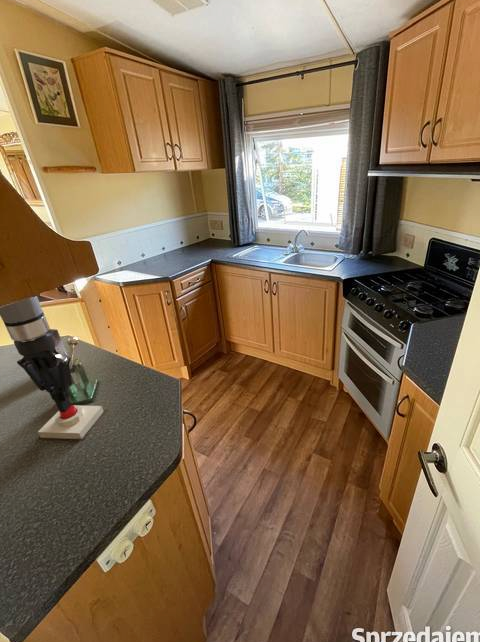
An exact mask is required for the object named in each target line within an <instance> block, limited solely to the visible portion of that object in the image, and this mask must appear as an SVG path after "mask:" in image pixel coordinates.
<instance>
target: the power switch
mask: <svg viewBox="0 0 480 642" xmlns="http://www.w3.org/2000/svg"><path fill="white" fill-rule="evenodd" d="M72 366H73V369H74V371H75V372H74V373H75V376H76V378H77V380H78V383H75V381H74V378H73V376H72V375H71V380H72V385H71V386H70V387H69V388H68V389H67V392H68V394H69V400H70V402H71V404H72V405H80V406H81V405H85V404H88V403H92V402H93V401H94V399H95V395H96V391H97V389H98V386H99V380H98V379H92V380H89V378H88V376H87V372H86V370H85V368H84V365H83V363H82V361H81V358H80V357H79V356H76V357H74V362H73V364H72Z"/></svg>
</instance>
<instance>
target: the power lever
mask: <svg viewBox="0 0 480 642" xmlns="http://www.w3.org/2000/svg"><path fill="white" fill-rule="evenodd" d="M79 340H80V339H79V338H78V337H77V336H69V338H67V340H66V343H67V345H68V346H69V351H68V356H69V357H70V358H71V360H70V363H69V366H70V373H71V374H73V373H75V371H74V369H73V366H72V364H73V362H74V360H75V351H76V346H78V345H79V343H80V341H79Z"/></svg>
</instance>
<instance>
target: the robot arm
mask: <svg viewBox="0 0 480 642" xmlns="http://www.w3.org/2000/svg"><path fill="white" fill-rule="evenodd" d="M42 308H43V307H42V306H41V303H40V300H39V298H38V295H37V296H35V297H31V298H28V299H25V300H23V301H20V302H17V303H14V304H11V305H8V306H5V307H2V308H0V318H1V320H2V322H3V324H4V327H5V329H6V331H7V333H8V335H9V337H10V339H11V340H12V341H13V345H14V346H15V348H16V350H17V353H18V354H19V355H20V356H22V357H21V358H20V359H19V360H17V361H16V364H17V365H18V366H20V367H21V368H22V369H23V371H25V373H26V374H27V375H28V376H29V378H30V379H31V380H32V382H33V383H34V384H35V386H36V387H37V388H38V389H39V391H41V392H43V391H46V392H47V393H48V394H49V395H50V397H51V400H52V401H53V402H54V403H55V405H56V408H57V409H58V411H60V412H66V410H67V409H68V408H69V407H70V406H71V405H72V404H71V402H70V400H69V394H68V392H67V389H68V388H69V387H70V386H71V385H72V380H71V376H72V373H70V366H69V363H70V360H71V358H70V357H69V355H68V356H66V357H63V356H60V355H59V352H58V351H57V350H56V349H55V343H56V341H55V338H54V336H53V334H52V331H51V330H49V329H51V328H50V325H49V322H48V320H47V318H46V315H45V313H44V310H43V309H42Z"/></svg>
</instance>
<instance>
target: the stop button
mask: <svg viewBox="0 0 480 642" xmlns="http://www.w3.org/2000/svg"><path fill="white" fill-rule="evenodd" d="M76 413H77V411H76V409H75V406H73V405H71V406H70V407H69V408H68V409H67V410H66V412H60V415H61V417H62V419H68V418H71V417H73V416H74V415H75V414H76Z"/></svg>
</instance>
